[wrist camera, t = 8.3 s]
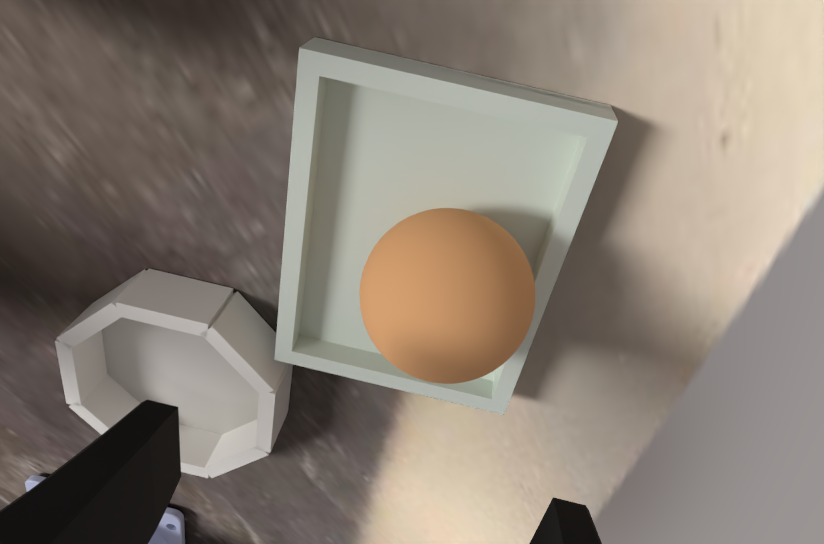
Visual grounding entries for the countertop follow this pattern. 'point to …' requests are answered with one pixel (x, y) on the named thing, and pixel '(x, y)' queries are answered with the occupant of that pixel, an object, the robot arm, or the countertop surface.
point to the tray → (420, 193)
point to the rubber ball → (447, 295)
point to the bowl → (180, 367)
